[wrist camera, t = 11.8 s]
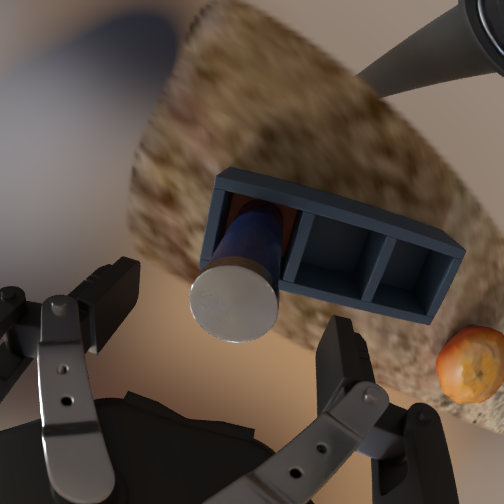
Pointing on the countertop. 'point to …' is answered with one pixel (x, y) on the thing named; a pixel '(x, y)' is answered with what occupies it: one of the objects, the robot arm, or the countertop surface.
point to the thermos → (242, 276)
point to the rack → (343, 247)
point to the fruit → (472, 364)
